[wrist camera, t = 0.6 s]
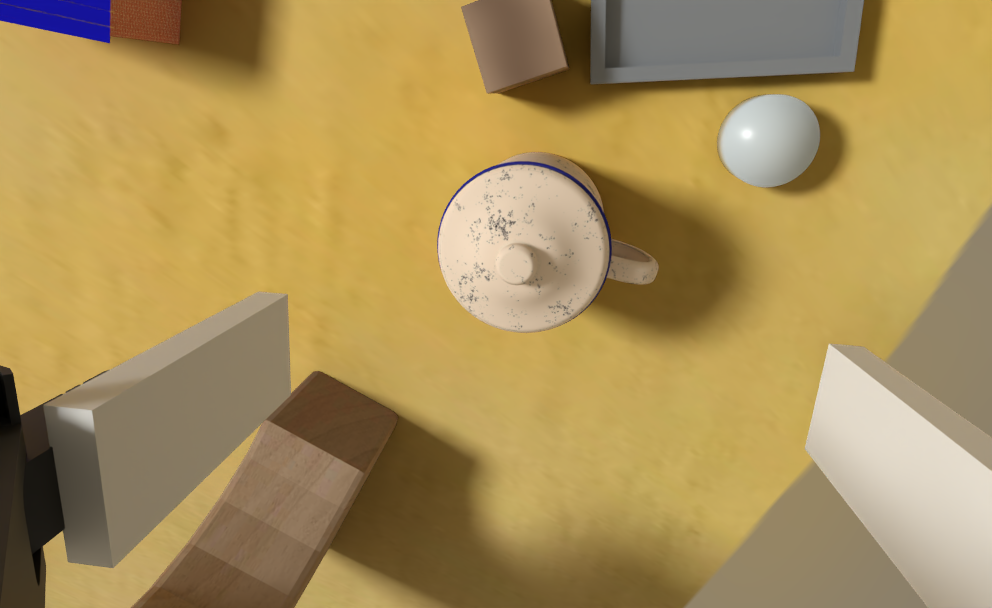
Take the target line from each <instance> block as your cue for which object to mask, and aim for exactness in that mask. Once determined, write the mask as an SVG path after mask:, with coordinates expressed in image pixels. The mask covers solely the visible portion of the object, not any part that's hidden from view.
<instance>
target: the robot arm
mask: <svg viewBox="0 0 992 608" xmlns="http://www.w3.org/2000/svg"><path fill="white" fill-rule="evenodd" d="M290 395H291V381H290V351H289V321H288V294H278V293H267V292H257V293H255V294H253V295H251V296H249V297H247V298H245V299H244V300H242V301H240V302H238V303H236V304H234V305H232V306H230V307H228V308H226V309H225V310H223V311H221V312H219V313H217V314H215V315H213V316H211V317H209V318H207V319H206V320H204V321H202V322H200V323H198V324H196V325H194V326H192V327H190V328H188V329H187V330H185V331H183V332H181V333H179V334H177V335H175V336H173V337H171V338H170V339H168V340H166V341H164V342H162V343H160V344H158V345H156V346H154V347H152V348H151V349H149V350H147V351H145V352H143V353H141V354H139V355H137V356H135V357H133V358H132V359H130V360H128V361H126V362H124V363H122V364H120V365H118V366H116V367H114V368H113V369H111V370H108V371H104V372H102V373H101V374H99V375H97V376H95V377H93V378H91V379H89V380H87V381H85V382H83V384H82V385H78V386H76V387H74V388H72V389H70V390H68V391H66V393H65V394H60V395H59V396H57V397H55V398H53V399H51V400H49V401H47V402H45V403H43V404H41V405H39V406H38V407H36V408H34V409H32V410H30V411H28V412H26V413H24V414H22V415H20V412H19V406H18V400H17V394H16V388H15V382H14V376H13V373H12V371H11V370H10V368H7V367H3V366H0V608H45V582H46V563H45V558H44V552H43V545H45V544H46V543H47V542H49V541H50V540H51V539H52V538H54V537H55V536H56V535H57V534H59V533H60V532H61V531H62V530H63V533H64V540H65V546H66V552H67V559H68V562H70V563H78V564H86V565H93V566H101V567H108V568H114V567H115V566H116V565H117V564H118V563H119V562H120V561H121V560H122V559H123V558H124V557H125V556H126V555H127V554H128V553H129V552H130V551H131V550H132V549H133V548H134V547H135V546H136V545H137V544H138V543H139V542H140V541H142V540H143V539H144V538H145V537H146V536H147V535H148V534H149V533H150V532H151V531H152V530H153V529H154V528H155V527H156V526H157V525H158V524H159V523H160V522H161V521H162V520H163V519H164V518H165V517H166V516H167V515H168V514H169V513H170V512H171V511H172V510H173V509H174V508H175V507H176V506H177V505H178V504H180V503H181V502H182V501H183V500H184V499H185V498H186V497H187V496H188V495H189V494H190V493H191V492H192V491H193V490H194V489H195V488H196V487H197V486H198V485H199V484H200V483H201V482H202V481H203V480H204V479H205V478H206V477H207V476H208V475H209V474H210V473H211V472H212V471H213V470H214V469H215V468H216V467H217V466H219V465H220V464H221V463H222V462H223V461H224V460H225V459H226V458H227V457H228V456H229V455H230V454H231V453H232V452H233V451H234V450H235V449H236V448H237V447H238V446H239V445H240V444H241V443H242V442H243V441H244V440H245V439H246V438H247V437H248V436H249V435H250V434H251V433H252V432H253V431H254V430H255V429H257V428H258V427H259V426H260V425H261V424H262V423H263V422H264V421H265V420H266V419H267V418H268V417H269V416H270V415H271V414H272V413H273V412H274V411H275V410H276V409H277V408H278V407H279V406H280V405H281V404H282V403H283V402H284V401H285V400H286V399H287V398H288V397H289V396H290ZM805 450H806V451H807V452H808V453H809V455H810V456H811V457H812V459H813V460H814V461H815V462H816V464H817V465H818V466H819V468H820V469H821V470H822V472H823V473H824V474H825V475H826V477H827V478H828V479H829V481H830V482H831V483H832V484H833V486H834V487H835V488H836V490H837V491H838V492H839V493H840V495H841V496H842V497H843V498H844V500H845V501H846V502H847V504H848V505H849V506H850V507H851V509H852V510H853V512H854V513H855V514H856V515H857V517H858V518H859V519H860V521H861V522H862V523H863V524H864V526H865V527H866V528H867V530H868V531H869V532H870V534H871V535H872V536H873V537H874V538H875V540H876V541H877V543H878V544H879V545H880V546H881V548H882V549H883V550H884V551H885V553H886V554H887V555H888V557H889V558H890V559H891V561H892V562H893V563H894V565H895V566H896V567H897V568H898V569H899V571H900V572H901V573H902V575H903V576H904V577H905V579H906V580H907V581H908V583H909V584H910V585H911V586H912V588H913V589H914V590H915V591H916V593H917V594H918V596H919V597H920V598H921V599H922V601H923V602H924V603H925V604H926V606H927V607H928V608H992V437H990V436H989V435H987V434H986V433H984V432H983V431H982V430H980V429H979V428H977V427H976V426H975V425H973V424H972V423H970V422H969V421H968V420H966V419H965V418H963V417H962V416H961V415H959V414H958V413H956V412H955V411H953V410H952V409H951V408H949V407H948V406H946V405H945V404H944V403H942V402H941V401H939V400H938V399H936V398H935V397H934V396H932V395H931V394H929V393H928V392H927V391H925V390H924V389H922V388H921V387H919V386H918V385H917V384H915V383H914V382H912V381H911V380H910V379H908V378H907V377H905V376H904V375H902V374H901V373H900V372H898V371H897V370H895V369H894V368H893V367H891V366H890V365H888V364H887V363H885V362H884V361H883V360H881V359H880V358H878V357H877V356H876V355H874V354H873V353H871V352H870V351H869V350H867V349H866V348H864V347H861V346H850V345H839V344H829V346H828V350H827V355H826V359H825V363H824V368H823V372H822V376H821V381H820V385H819V389H818V394H817V398H816V402H815V407H814V411H813V415H812V420H811V424H810V428H809V433H808V437H807V441H806V446H805Z"/></svg>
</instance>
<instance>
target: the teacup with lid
mask: <svg viewBox="0 0 992 608" xmlns="http://www.w3.org/2000/svg"><path fill="white" fill-rule="evenodd" d="M437 249H438V259H439V264H440V268H441V271H442V274H443V277H444V279H445V281H446V283H447V286H448V287H449V289H450V291H451V292H452V294H453V295H454V297H455V298H456V299H457V301H458V302H459V303H460V304H461V305H462V306H463V307H464V308H465V309H466V310H467V311H468V312H469V313H471V314H472V315H473V316H475V317H476V318H478V319H479V320H481V321H483V322H484V323H486V324H489V325H491V326H493V327H496V328H499V329H502V330H506V331H511V332H520V333H531V332H540V331H545V330H549V329H552V328H555V327H558V326H560V325H563V324H565V323H567V322H569V321H570V320H572V319H574V318H575V317H577V316H578V315H579V314H581V313H582V312H583V311H584V310H585V309H586V308H587V307H588V306H589V305H590V304H591V303H592V302H593V301H594V299H595V298H596V297H597V295H598V294H599V292H600V290H601V289H602V287H603V285H604V283H605V280H606V278H610V279H613V280H617V281H621V282H625V283H631V284H649V283H651V282H653V281H654V280H655V278H656V275H657V272H658V269H659V266H658V263H657V261H656V260H655V259H654V258H653V257H652V256H651V255H649V254H648V253H646V252H645V251H643V250H641V249H639V248H637V247H635V246H632V245H630V244H627V243H624V242H621V241H618V240H614V239H611V234H610V229H609V225H608V222H607V219H606V217H605V214H604V210H603V204H602V200H601V197H600V195H599V192H598V190H597V188H596V186H595V185H594V183H593V181H592V180H591V179H590V177H589V176H588V175H587V174H586V173H585V172H584V171H583V170H582V169H581V168H580V167H578V166H577V165H576V164H574V163H573V162H571V161H569V160H567V159H565V158H563V157H561V156H558V155H555V154H550V153H543V152H530V153H523V154H519V155H516V156H513V157H511V158H508V159H506V160H504V161H503V162H501V163H499V164H498V165H496V166H492V167H490V168H488V169H485V170H483V171H482V172H480V173H478V174H476V175H475V176H473V177H472V178H471V179H469V180H468V181H467V182H466V183H465V184H463V185H462V186H461V188H460V189H459V190H458V191H457V192H456V193H455V195H454V196H453V197H452V199H451V200H450V202H449V203H448V205H447V207H446V209H445V211H444V214H443V216H442V219H441V222H440V226H439V231H438V241H437Z"/></svg>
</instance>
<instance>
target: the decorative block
mask: <svg viewBox="0 0 992 608" xmlns="http://www.w3.org/2000/svg"><path fill="white" fill-rule="evenodd" d="M397 420H398V417H397V415H396V413H395V412H393V411H391V410H389V409H388V408H386V407H384V406H382V405H380V404H379V403H377V402H375V401H373V400H371V399H369V398H368V397H366V396H364V395H362V394H360V393H358V392H357V391H355V390H353V389H351V388H349V387H348V386H346V385H344V384H342V383H340V382H338V381H337V380H335V379H333V378H331V377H329V376H327V375H326V374H324V373H322V372H320V371H314V372H313V373H312V374H310V375H309V376H308V377H307V378H306V379H305V380H304V381H303V382H302V383H301V384H300V385H299V386H298V387H297V388H296V389H295V390H294V391H293V392H292V393H291V395H290V396H289V397H288V398H287V399H286V400H285V401H284V402H283V403H282V404H281V405H280V406H279V407H278V408H277V409H276V410H275V411H274V412H273V413H272V414H271V415H270V416H269V417H268V418H267V419H266V420H265V421H264V422H263V423H262V425H261V427H260V429H259V431H258V433H257V435H256V437H255V439H254V441H253V442H252V444H251V446H250V448H249V450H248V452H247V454H246V456H245V457H244V459H243V461H242V462H241V464H240V465H239V467H238V469H237V470H236V472H235V474H234V475H233V477H232V478H231V480H230V482H229V483H228V485H227V487H226V488H225V490H224V491H223V493H222V495H221V496H220V498H219V499H218V501H217V502H216V503H215V505H214V506H213V508H212V509H211V510H210V512H209V513H208V515H207V516H206V517H205V519H204V520H203V522H202V523H201V524H200V526H199V527H198V529H197V530H196V531H195V533H194V534H193V536H192V537H191V538H190V540H189V541H188V543H187V544H186V545H185V547H184V548H183V549H182V550H181V551H180V553H179V554H178V555H177V556H176V557H175V559H174V560H173V561H172V562H171V563H170V565H169V566H168V567H167V568H166V570H165V571H164V572H163V573H162V574H161V576H160V577H159V578H158V579H157V580H156V582H155V583H154V584H153V585H152V586H151V588H150V589H149V590H148V591H147V592H146V593H145V594H144V595H143V596H142V597H141V598H140V599H139V600H138V601H137V602H136V603H135V604H134V605H133V606H132V607H131V608H294V607H295V605H296V604H297V602H298V600H299V599H300V597H301V595H302V593H303V592H304V590H305V588H306V587H307V585H308V583H309V581H310V580H311V578H312V576H313V575H314V573H315V571H316V569H317V568H318V566H319V564H320V562H321V561H322V559H323V557H324V556H325V554H326V552H327V550H328V549H329V547H330V545H331V543H332V541H333V540H334V538H335V536H336V534H337V532H338V530H339V529H340V527H341V525H342V523H343V521H344V519H345V518H346V516H347V514H348V512H349V510H350V509H351V507H352V505H353V503H354V501H355V499H356V498H357V496H358V494H359V492H360V490H361V488H362V487H363V485H364V483H365V481H366V479H367V477H368V476H369V474H370V472H371V470H372V468H373V466H374V465H375V463H376V461H377V459H378V457H379V455H380V454H381V452H382V450H383V448H384V446H385V444H386V443H387V441H388V439H389V437H390V435H391V434H392V432H393V430H394V428H395V426H396V424H397Z"/></svg>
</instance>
